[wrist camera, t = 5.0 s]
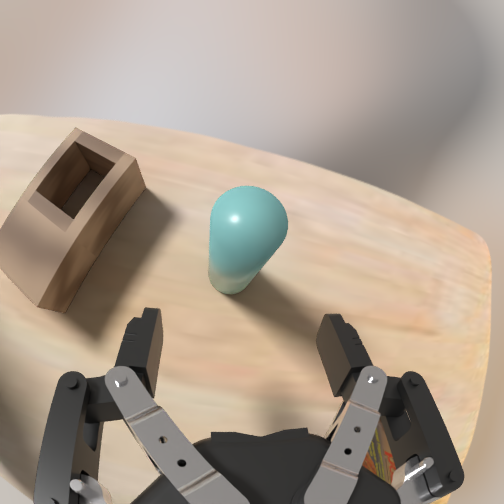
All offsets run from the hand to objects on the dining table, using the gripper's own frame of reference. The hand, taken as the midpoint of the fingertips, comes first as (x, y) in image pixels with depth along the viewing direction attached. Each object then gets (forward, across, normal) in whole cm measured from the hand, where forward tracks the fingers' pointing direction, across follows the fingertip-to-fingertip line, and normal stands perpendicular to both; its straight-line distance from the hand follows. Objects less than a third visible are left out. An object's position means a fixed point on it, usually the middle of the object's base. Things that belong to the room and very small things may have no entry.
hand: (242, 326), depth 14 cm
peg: (+11, 0, +4) cm, 11 cm away
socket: (+13, +15, +1) cm, 20 cm away
